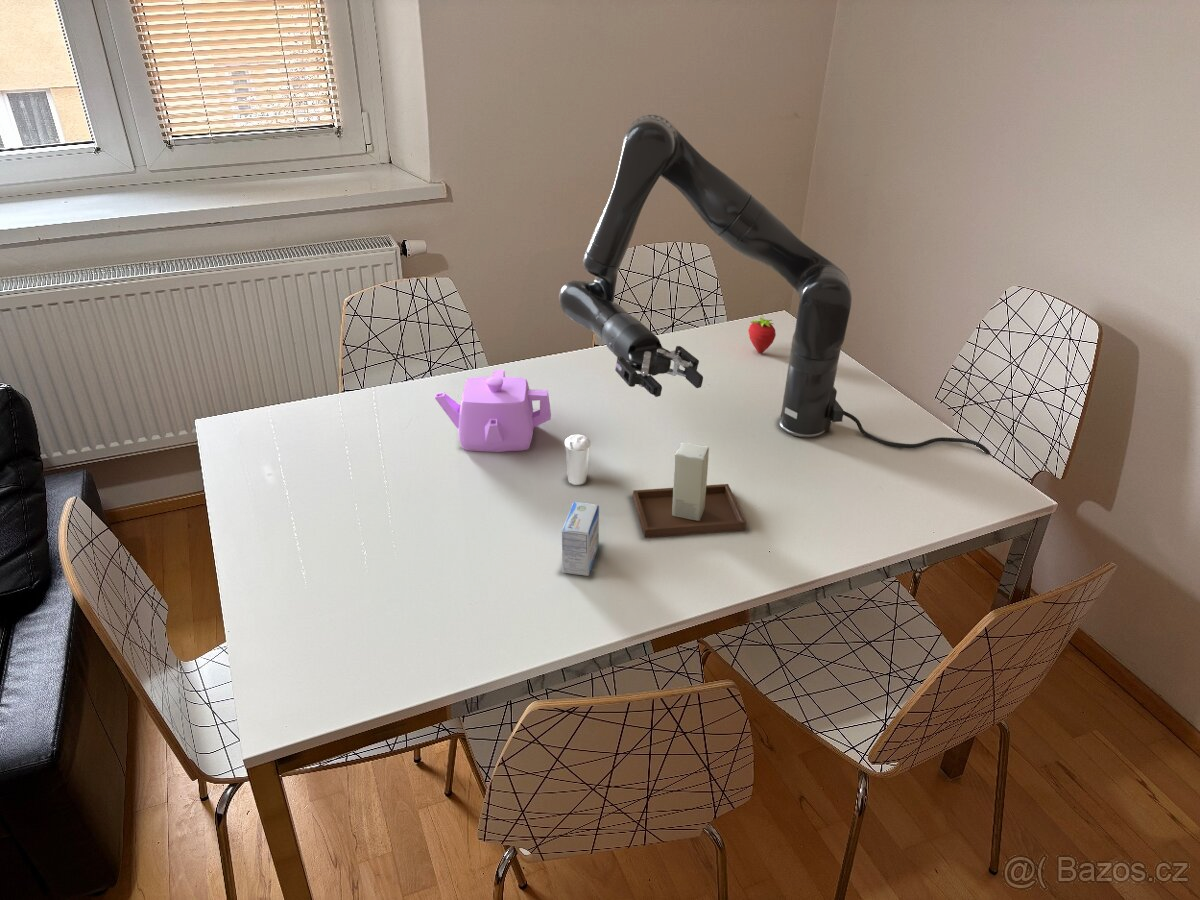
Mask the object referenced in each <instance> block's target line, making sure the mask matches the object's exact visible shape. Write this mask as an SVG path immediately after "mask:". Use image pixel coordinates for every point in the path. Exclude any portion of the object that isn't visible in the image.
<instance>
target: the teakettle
mask: <svg viewBox="0 0 1200 900" xmlns="http://www.w3.org/2000/svg"><path fill="white" fill-rule="evenodd" d="M434 399H435V401H436V403H438V405H439V406H440V407H441V409H442V410H443V411H444V413H445V414H446V416H448V417H447V418H449V419H450V421H451V422H452V424H453V425H454V426H455V428H456V429H458V440H459V443H460V446H461V448H462V450H465V451H470V452H471V451H472V452H487V453H492V452H493V453H503V452H505V453H506V452H521V451H526V450H529V449H530V446H531V444H532V440H533V435H534V434H533V433H534V429H535V428H536V427H538V426H540V425H543V424H544V423H546V422H549V421H550V420H551V419H552V409H551V404H550V395H549V390H548V389H530V386H529V383H528V380H527V378H524V377H518V376H506V372H505V369H493V371H492V375H491V376H474V377H468V378H466V381H465V383H464V387H463V391H462V396H461V402H460V404H459V403H458V402H457V401H455V400H454V399H453V398H452V397H450V396H449V395H447V393H446V392H437V393H435V395H434ZM533 401H539V409H538V410H535V411H534V405H533Z"/></svg>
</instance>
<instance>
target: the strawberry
mask: <svg viewBox="0 0 1200 900" xmlns="http://www.w3.org/2000/svg"><path fill="white" fill-rule="evenodd" d="M760 315H761V317H759V320H754V319H753V320H751V321H750V324H749V328H748V336H749V341H750V342H751V344H752V346H753V348H754V349H755V350H756V352H757V354H759V355H760V354H763V353H764V352H765V351H766V350H768V349H769V347H771V345H772V344H773V343H774V341H775V338H776V336H777V333H776V329H775V327H774V326H773V325H774V323H773V322H771V321H773V319H765V318H764V315H763V314H761V313H760Z"/></svg>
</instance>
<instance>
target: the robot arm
mask: <svg viewBox="0 0 1200 900" xmlns="http://www.w3.org/2000/svg"><path fill="white" fill-rule="evenodd" d="M660 177H661V178H663V179H664V180H665V181H666V182H668V183H669V184H670V185H672V186H674V188H675V189H677V190H678V191H679V193H680V194H681V195H682V196H683V197H684V198H685V199H686V201H687V202H688V203H689V205H690V206H691V207H692V208H693V210H694V211H695V212H696V214H697V215H698V217H700V219H701V220H702V222H704V224H705V225H706V226H707V227H708V228H709V229H710V230H711V231H712V232H713V233H714V234H715V235H717V236H718V237H719V238H720V239H721V240H722V241H723V242H725V243H726V244H727V245H728V246H729V247H731V248H732V249H733V250H735V251H737V253H739V254H741V255H743V256H745V257H747V258H749V259H751V260H754V261H756V262H758V263H760V264H763V265H765V266H766V267H768V268H770V269H772V270H773V271H775V272H776V273H777V274H778V275H780V276H781V277H782V278H783V279H784V280H785V281H786V282H787V283H788V284H789V285H790V286H791V287H792V288H793V289H794V290H795V292H796V293H797V294H798V295H799V301H798V310H797V317H796V321H795V328H794V332H793V335H792V338H791V339H792V340H791V346H790V353H789V360H788V366H787V372H786V378H785V379H786V380H785V386H784V391H783V399H782V405H781V411H780V418H779V421H778V425H779V427H780V428H781V430H783V431H784V432H785V433H787V434H788V435H791V436H794V437H798V438H805V439H806V438H807V439H808V438H809V439H810V438H812V439H813V438H817V437H821V436H822V435H824V434H825V433H830V430H831V426H832V423H841V422H843V419H844V416H845V417H846V418H849V419H850V420H852V421H853V422H854V423H855V424H856V426H857V429H858V431H859V432H860V433H861V434H862V435H863V436H865V437H866V438H868V439H870V440H873V441H874V442H877V443H880V444H882V445H885V446H890V447H894V448H902V449H903V448H904V449H916V448H921V447H925V446H927V445H931V444H934V443H938V442H946V443H947V442H949V443H964V444H969V445H973V446H976V447H977V448H978V449H981V450H982V451H983V452H984V454H986V455H991V454H992V453H991V451H990V450H989V449H988V448H987V447H986V446H985V445H984V444H983V443H981V442H979V441H976V440H973V439H968V438H961V437H946V436H945V437H943V436H942V437H934V438H930V439H927V440H924V441H921V442H917V443H901V442H893V441H888V440H884V439H881V438H878V437H876V436H874V435H872V434H870V433H869V432H867V431H866V430H865V429H864V428H863V426H862V423H861V421H860V419H858V418H857V417H856V416H854V415H853V414H851V413H849V412H848V411H845V410H844V409H843V407H842V406H841V405H840V403H839V402H838V401H837V400H836V399H837V394H838V390H837V389H836V387H835V381H836V377H837V370H838V367H839V366H838V365H839V360H840V354H841V351H842V346H843V344H844V341H845V337H846V333H847V329H848V323H849V319H850V314H851V308H852V301H853V300H852V299H853V298H852V297H853V295H852V290H851V284H850V281H849V278H848V276H847V274H846V272H845V271H844V270H843V269H842V268H841V267H839V265H837V264H835V262H833V261H831V260H830V259H828V258H826V257H825V256H823V255H822V254H820V253H819V252H818V251H816V250H815V249H813V247H810V246H809V245H808V244H806V243H805V242H803V240H802V239H800V238H799V237H798V236H797V235H796V234H795V233H794V232H793V231H792V230H791V229H790V228H789V227H788V226H787V225H786V224H785V223H784V222H783V221H782V220H780V218H779V217H777V215H775V214H774V213H773V212H772V211H771V210H770V209H769V208H768V207H767V206H765V204H763V203H762V202H761V201H760V200H759V199H757V198H756V197H755V196H754V195H753V194H752V193H751V192H749V191H748V190H747V189H745V188H744V187H743V186H742V185H740V184H739V183H738V182H737V181H736V180H735V179H733V178H732V177H730V176H729V175H728V174H727V173H725V172H723V171H722V170H721V169H720V168H718V167H717V166H715V165H714V164H712V162H710V161H709V160H707V159H706V158H705V157H704V155H702V154H701V153H700V152H699V150H697V149H696V148H695V147H694V146H693V145H692V144H691V142H689V141H688V139H686V138H685V136H684V135H683V134H682V133H681V132H680V131H679V130H678V128H676V127H675V126H674V124H672V122H671V121H670V120H668V119H667V118H665V117H664V116H662V115H660V114H654V113H646V114H643V115H641V116H639V117H637V118H635V120H633V121H632V123H631V124H630V125H629V127H628V128H627V131H626V132H625V134H624V137H623V140H622V147H621V154H620V158H619V163H618V168H617V173H616V176H615V180H614V183H613V186H612V189H611V192H610V194H609V197H608V199H607V202H606V204H605V206H604V209H603V210H602V213H601V214H600V217H599V219H598V221H597V224H596V225H595V228H594V230H593V232H592V235H591V237H590V239H589V241H588V245H587V246H586V249H585V253H584V255H583V257H582V266H583V268H584V269H585V271H586V272H588V273H589V274H590V275H593V277H594V276H595V277H594V280H593V281H589V280H579V279H574V280H569V281H566V282H565V283H563V285H562V287H561V288H560V290H559V293H558V303H559V307H560V309H561V311H562V312H563V313H564V315H565V316H566V317H567V318H569V319H570V320H572V321H573V322H575V323H576V324H578V325H580V326H581V327H583V328H585V329H587V330H590V331H591V332H593V333H594V334H595V335H596V336H597V338H599V339H600V340H601V341H602V342H603V343H604V344H605V346H606V347H607V349H608V350H609V351H610V352H611V353H612V354H613V355H614V356H615V357H616V363H615V369H614V370H615V372H616V373H617V374H618V376H619V377H620V378H621V379H622V380H623V381H624V382H625V383H626V384H627V386H628V387H630V388H633V387H636V385H638V386H639V387H641V388H644V389H645V390H646V391H647V392H648V393H649V394H651V395H653V397H655V398H658V397H661V395H662V391H663V386H662V385H661V383H659V381H658V380H656V379H655V377H653V376H657V375H661V374H667V375H670V376H673V377H676V376H680V377H684V378H685V380H687V381H688V382H689V383H690V384H691V385H692V386H693V387H694V388H695V389H700V388H702V386H703V382H704V376H703V375H702V373H700V372H699V371H698V367H699V364H700V360H699V359H698V358H697V357H695V356H694V355H692V354H691V353H690V352H689V351H688V350H687V349H685V348H684V347H683V346H681V345H676V346H675V349H674V350H669V349H666V348H664V347H663V345H662V343H661V340H660V338H658V336H656V335H655V334H654V333H653V332H652V331H651V330H650V329H649V328H648V327H647V326H646V325H645V324H643V323H642V322H641V321H640V320H639V319H637V318H636V317H635V316H632V315H631V314H630V313H629V312H628V311H627V310H626V309H625V308H623V306H621V305H620V304H618V303H617V302H615V297H616V288H617V281H618V273H619V269H620V267H621V265H622V262H623V261H624V258H625V255H626V253H627V251H628V249H629V245H630V243H631V241H632V238H633V235H634V233H635V229H636V226H637V223H638V220H639V217H640V215H641V212H642V210H643V207H644V205H645V203H646V201H647V200H648V198H649V195H650V193H651V191H652V190H653V188H654V187H655V185H656V184H657V182H658V181H659V179H660ZM672 362H674V364H673V368H671V364H672ZM680 366H681V367H682V368H684V369H681V368H680ZM638 372H639V373H638Z"/></svg>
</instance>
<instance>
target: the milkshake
mask: <svg viewBox="0 0 1200 900" xmlns="http://www.w3.org/2000/svg"><path fill="white" fill-rule="evenodd" d="M590 449H591V440H590V439H589V438H588V437H587V436H586V435H584V434H583V435H582V434H571V435H569V436H568V437H567V438H565V440H564V450H565V459H566V471H567V481H568V482H569V484H571V485H573V486H580V485H584V484H585V483H586V481H587V478H588V477H587V476H588V468H589V467H588V466H589V457H590Z"/></svg>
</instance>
